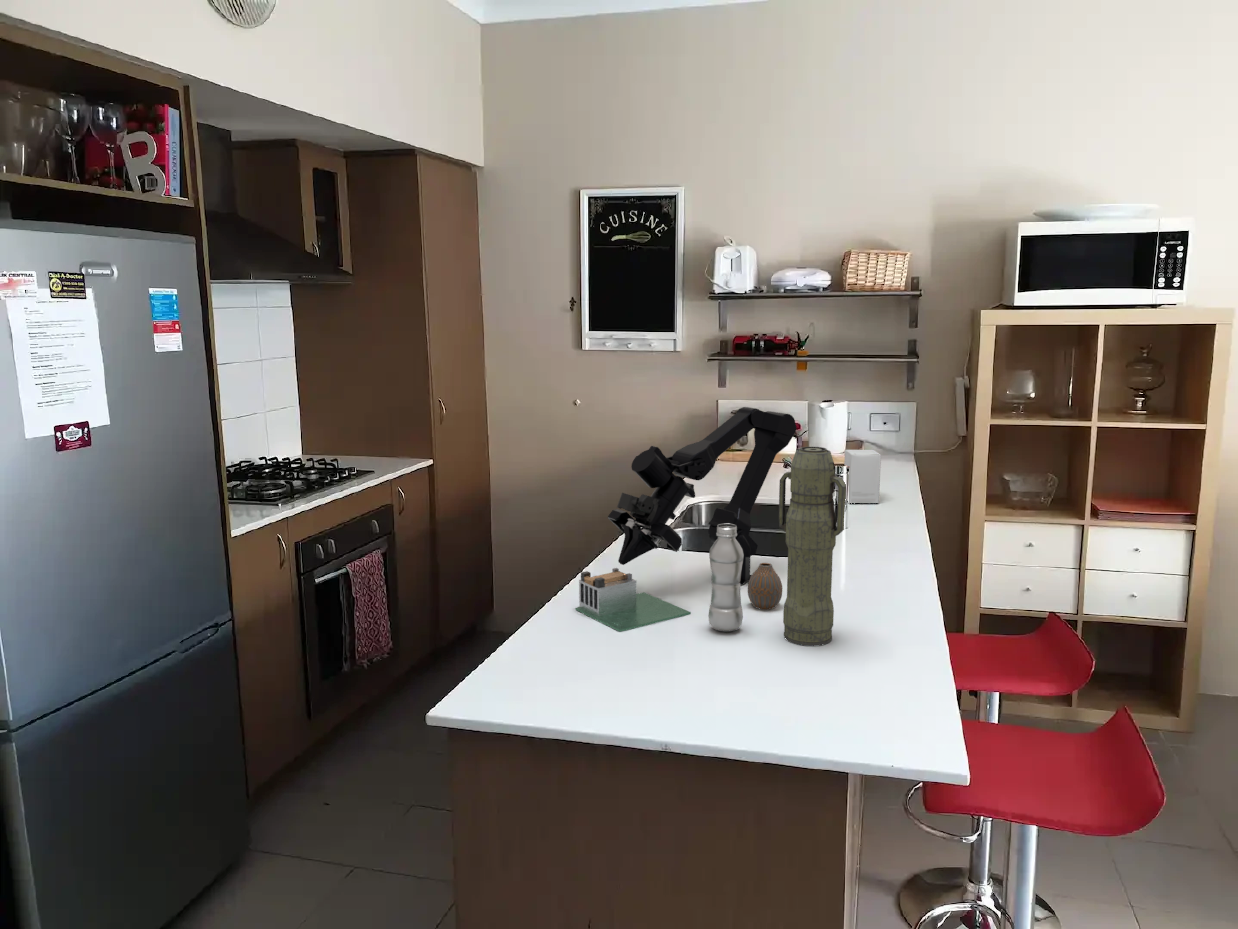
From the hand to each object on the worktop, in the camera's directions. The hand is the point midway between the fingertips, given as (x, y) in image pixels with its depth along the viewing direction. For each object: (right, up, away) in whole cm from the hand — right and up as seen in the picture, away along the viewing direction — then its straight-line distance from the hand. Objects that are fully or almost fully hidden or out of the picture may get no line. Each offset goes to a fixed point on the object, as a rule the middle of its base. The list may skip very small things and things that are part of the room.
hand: (620, 563), depth 193 cm
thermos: (+34, -12, -16) cm, 40 cm away
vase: (+29, -9, +1) cm, 30 cm away
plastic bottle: (+20, -11, -12) cm, 26 cm away
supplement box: (+72, +9, +94) cm, 119 cm away
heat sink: (+2, -9, -2) cm, 10 cm away
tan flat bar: (-3, -3, -1) cm, 5 cm away
